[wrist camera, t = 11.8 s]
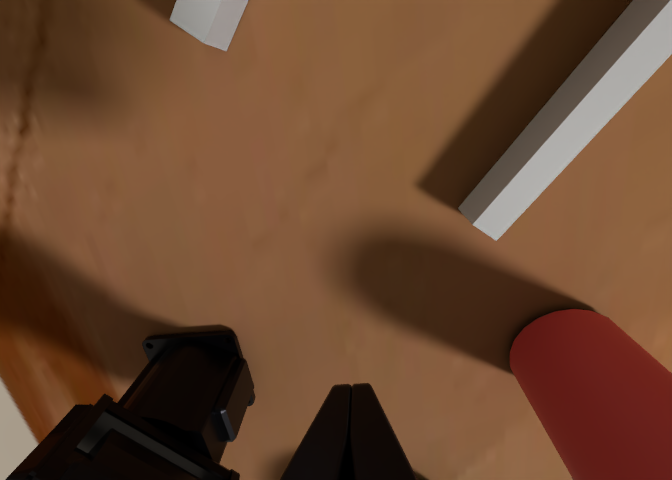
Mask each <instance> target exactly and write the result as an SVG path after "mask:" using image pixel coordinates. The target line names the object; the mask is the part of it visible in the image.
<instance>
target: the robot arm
mask: <svg viewBox="0 0 672 480" xmlns="http://www.w3.org/2000/svg"><path fill="white" fill-rule="evenodd" d="M226 337H227V338H230V339H231V340H229V339H227V338H226ZM150 343H151V344H150ZM142 346H143V348H144V350H145V353H146V355H147V357H148V359H149V363H148V364H147V366H146V367H145V368H144V370H143V371H142V372H141V373H140V375H139V376H138V377H137V378H136V380H135V381H134V382H133V384H132V385H131V386H130V387H129V389H128V390H127V391H126V393H125V394H124V395H123V396H122V398H121V399H120V400H119V401H118V403H116V402H114V401H112V400H113V398H111V397H110V396H108V395H106V394H104V395H103V396H102V397H101V398H100V399H99V400H98V401H97V403H96V404H95V405H94V406H93V405H92V404H89V405H75V406H74V407H73V408H72V409H71V410H70V412H69V413H68V414H67V415H66V416H65V417H64V418H63V419H62V420H61V421H60V422H59V424H58V425H57V426H56V427H55V428H54V429H53V430H52V431H51V432H50V433H49V434H48V435H47V437H46V438H45V439H44V440H43V441H42V442H41V443H40V444H39V445H38V446H37V447H36V448H35V449H34V450H33V451H32V452H31V453H30V454H29V455H28V456H27V458H26V459H25V460H24V461H23V462H22V463H21V464H20V465H19V466H18V467H17V468H16V469H15V470H14V471H13V472H12V473H11V474H10V475H9V476H8V477H7V479H6V480H239V477H240V474H239V473H237V472H236V471H234V470H232V469H231V470H229V469H227V468H225V467H224V466H222V465H220V464H219V463H220V461H221V458H222V455H223V453H224V450H225V447H226V445H227V442H233V441H234V440H235V438H236V437H237V434H238V431H239V429H240V426H241V423H242V420H243V417H244V414H245V412H246V409H247V406H251V405H253V403H254V400H255V394H254V391H253V389H254V384H253V381H252V378H251V374H250V371H249V368H248V365H247V361H246V360H245V359H244V358H243V355H242V352H241V349H240V345H239V342H238V339H237V336H236V334H235V333H234V332H232V331H214V332H200V333H186V334H172V335H158V336H149V337H147V338H146V339H145V340H144V341H143V343H142ZM280 480H418V479H417V477H416V475H415V473H414V471H413V469H412V467H411V465H410V463H409V461H408V459H407V457H406V455H405V453H404V451H403V449H402V447H401V445H400V443H399V441H398V439H397V437H396V435H395V433H394V431H393V429H392V427H391V425H390V423H389V421H388V419H387V417H386V415H385V413H384V411H383V409H382V407H381V405H380V403H379V401H378V398H377V396H376V394H375V392H374V390H373V388H372V386H371V385H370V384H369V383H360V384H353V386H351V385H350V384H341V385H334V386H333V387H332V389H331V390H330V392H329V394H328V396H327V397H326V399H325V401H324V403H323V405H322V406H321V408H320V410H319V412H318V413H317V415H316V417H315V419H314V420H313V422H312V424H311V426H310V427H309V429H308V431H307V433H306V435H305V436H304V438H303V440H302V442H301V443H300V445H299V447H298V449H297V450H296V452H295V454H294V456H293V458H292V459H291V461H290V463H289V465H288V466H287V468H286V470H285V472H284V473H283V475H282V477H281V479H280Z"/></svg>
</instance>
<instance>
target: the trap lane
mask: <svg viewBox="0 0 672 480" xmlns="http://www.w3.org/2000/svg"><path fill="white" fill-rule="evenodd" d="M247 2H248V0H177V1H176V3H175V6H174V9H173V12H172V15H171V17H170V21H172V22H173V23H175V24H176V25H178V26H179V27H180V28H182V29H183V30H185V31H186V32H188V33H189V34H191V35H192V36H194V37H195V38H197V39H198V40H200V41H201V42H203V43H204V44H207V45H210V46H213V47H216V48H219V49H221V50H224V51H227V49H228V47H229V44H230V42H231V40H232V37H233V35H234V33H235V30H236V28H237V26H238V23H239V21H240V19H241V16H242V14H243V12H244V9H245V7H246V5H247ZM671 54H672V0H633V1H632V2H631V3H630V4H629V6H628V7H627V8H626V9H625V10H624V11H623V13H622V14H621V15H620V16H619V17H618V19H617V20H616V21H615V22H614V23H613V25H612V26H611V27H610V28H609V29H608V30H607V32H606V33H605V34H604V35H603V36H602V38H601V39H600V40H599V41H598V42H597V44H596V45H595V46H594V47H593V48H592V49H591V51H590V52H589V53H588V54H587V55H586V57H585V58H584V59H583V60H582V61H581V63H580V64H579V65H578V66H577V67H576V68H575V70H574V71H573V72H572V73H571V74H570V76H569V77H568V78H567V79H566V80H565V82H564V83H563V84H562V85H561V86H560V87H559V89H558V90H557V91H556V92H555V93H554V95H553V96H552V97H551V98H550V99H549V101H548V102H547V103H546V104H545V105H544V107H543V108H542V109H541V110H540V111H539V112H538V114H537V115H536V116H535V117H534V118H533V120H532V121H531V122H530V123H529V124H528V126H527V127H526V128H525V129H524V130H523V131H522V133H521V134H520V135H519V136H518V137H517V139H516V140H515V141H514V142H513V143H512V145H511V146H510V147H509V148H508V149H507V150H506V152H505V153H504V154H503V155H502V156H501V158H500V159H499V160H498V161H497V162H496V164H495V165H494V166H493V167H492V168H491V169H490V171H489V172H488V173H487V174H486V175H485V177H484V178H483V179H482V180H481V181H480V183H479V184H478V185H477V186H476V187H475V188H474V190H473V191H472V192H471V193H470V194H469V196H468V197H467V198H466V199H465V200H464V202H463V203H462V204H461V205H460V206H459V207H458V209H459V210H460V211H461V212H462V214H463V215H464V216H465V217H466V218H467V219H468V220H469V221H470V222H471V223H472V225H474V226H475V227H477V228H478V229H480V230H481V231H483V232H484V233H486V234H487V235H489V236H490V237H492V238H493V239H495V240H496V241H497V240H498V239H499V238H500V237H501V236H502V234H503V233H504V232H505V231H506V230H507V229H508V228H509V227H510V226H511V225H512V224H513V223H514V222H515V221H516V220H517V218H518V217H519V216H520V215H521V214H522V213H523V212H524V211H525V210H526V209H527V208H528V207H529V206H530V205H531V204H532V202H533V201H534V200H535V199H536V198H537V197H538V196H539V195H540V194H541V193H542V192H543V191H544V190H545V189H546V188H547V186H548V185H549V184H550V183H551V182H552V181H553V180H554V179H555V178H556V177H557V176H558V175H559V174H560V173H561V172H562V170H563V169H564V168H565V167H566V166H567V165H568V164H569V163H570V162H571V161H572V160H573V159H574V158H575V157H576V156H577V154H578V153H579V152H580V151H581V150H582V149H583V148H584V147H585V146H586V145H587V144H588V143H589V142H590V141H591V139H592V138H593V137H594V136H595V135H596V134H597V133H598V132H599V131H600V130H601V129H602V128H603V127H604V126H605V125H606V123H607V122H608V121H609V120H610V119H611V118H612V117H613V116H614V115H615V114H616V113H617V112H618V111H619V110H620V109H621V107H622V106H623V105H624V104H625V103H626V102H627V101H628V100H629V99H630V98H631V97H632V96H633V95H634V94H635V93H636V91H637V90H638V89H639V88H640V87H641V86H642V85H643V84H644V83H645V82H646V81H647V80H648V79H649V78H650V77H651V75H652V74H653V73H654V72H655V71H656V70H657V69H658V68H659V67H660V66H661V65H662V64H663V63H664V62H665V61H666V59H667V58H668V57H669V56H670V55H671Z"/></svg>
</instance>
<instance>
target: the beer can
mask: <svg viewBox="0 0 672 480" xmlns="http://www.w3.org/2000/svg"><path fill="white" fill-rule="evenodd" d="M510 368H511V370H512V372H513V373H514V375H515V377H516V379H517V381H518V383H519V384H520V386H521V388H522V390H523V391H524V393H525V395H526V397H527V398H528V400H529V402H530V404H531V405H532V407H533V409H534V411H535V413H536V414H537V416H538V418H539V420H540V421H541V423H542V425H543V427H544V428H545V430H546V432H547V434H548V435H549V437H550V439H551V441H552V443H553V444H554V446H555V448H556V450H557V451H558V453H559V455H560V457H561V458H562V460H563V462H564V464H565V465H566V467H567V469H568V471H569V473H570V474H571V476H572V478H573V480H672V373H671V372H669V371H668V370H667V369H666V368H665V367H664V366H663V365H661V364H660V363H659V362H658V361H657V360H656V359H655V358H653V357H652V356H651V355H650V354H649V353H648V352H647V351H645V350H644V349H643V348H642V347H641V346H640V345H639V344H638V343H636V342H635V341H634V340H633V339H632V338H631V337H630V336H628V335H627V334H626V333H625V332H624V331H623V330H622V329H620V328H619V327H618V326H617V325H616V324H615V323H614V322H612V321H611V320H610V319H609V318H608V317H605V316H603V315H601V314H598V313H596V312H593V311H590V310H579V309H568V310H561V311H555V312H551V313H549V314H546V315H544V316H541V317H539V318H537V319H535V320H534V321H533V322H531V323H530V324H528V325H527V326H526V327H524V328H523V330H522V331H521V332H520V333H519V335H518V336H517V337H516V338H515V340H514V342H513V345H512V348H511V350H510Z"/></svg>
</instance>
